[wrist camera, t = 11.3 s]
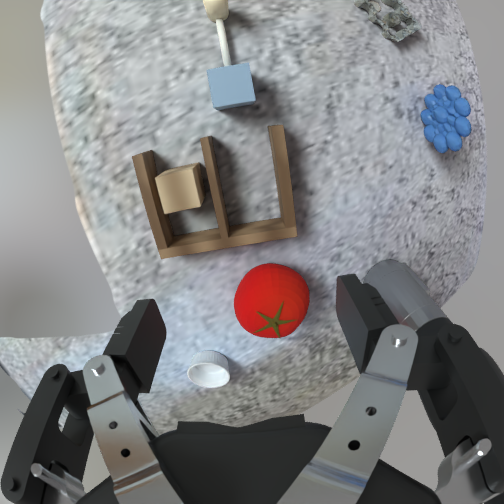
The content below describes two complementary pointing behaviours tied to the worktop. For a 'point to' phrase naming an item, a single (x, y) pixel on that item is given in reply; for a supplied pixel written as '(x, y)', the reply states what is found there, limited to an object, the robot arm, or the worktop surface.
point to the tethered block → (227, 67)
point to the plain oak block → (181, 188)
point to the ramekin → (209, 369)
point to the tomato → (271, 301)
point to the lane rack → (218, 205)
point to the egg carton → (391, 18)
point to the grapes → (446, 118)
